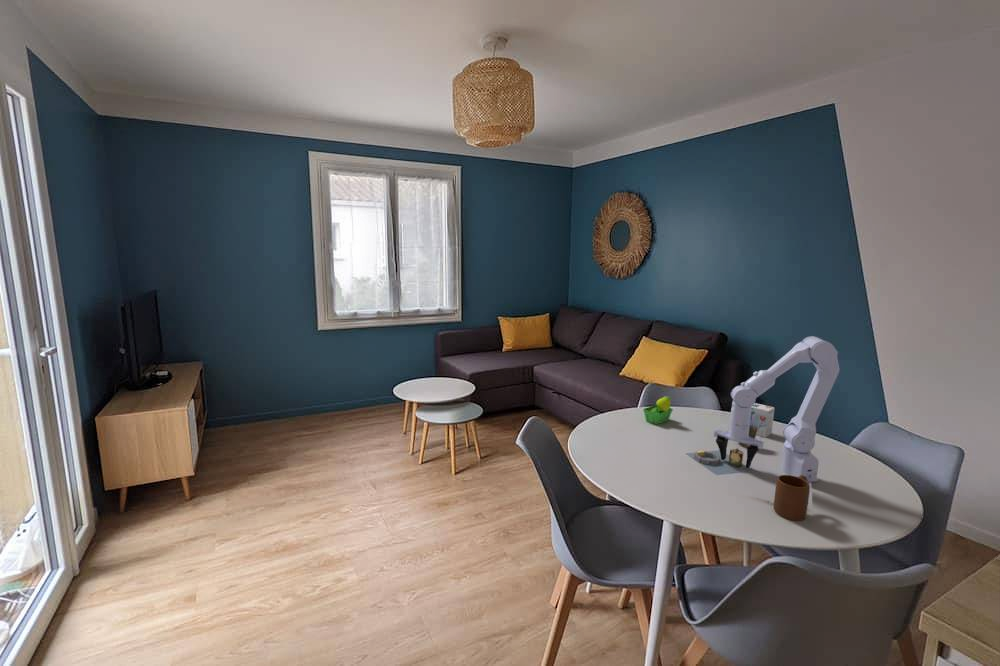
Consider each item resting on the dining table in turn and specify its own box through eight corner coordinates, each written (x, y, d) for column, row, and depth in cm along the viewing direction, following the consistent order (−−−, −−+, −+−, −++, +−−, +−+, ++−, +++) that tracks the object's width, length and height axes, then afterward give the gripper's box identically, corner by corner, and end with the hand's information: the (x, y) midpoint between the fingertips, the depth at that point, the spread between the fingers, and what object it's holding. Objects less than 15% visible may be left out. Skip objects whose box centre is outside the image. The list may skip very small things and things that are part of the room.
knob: (741, 468, 152) (743, 454, 151) (727, 465, 154) (729, 451, 153) (742, 463, 155) (744, 449, 154) (729, 460, 157) (730, 447, 156)
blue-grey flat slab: (754, 473, 150) (755, 466, 150) (715, 477, 147) (716, 470, 147) (720, 452, 166) (721, 446, 165) (684, 456, 162) (685, 449, 162)
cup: (750, 443, 174) (752, 422, 173) (758, 451, 167) (761, 430, 166) (729, 442, 175) (731, 421, 174) (736, 450, 168) (739, 429, 167)
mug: (786, 498, 135) (790, 467, 134) (816, 509, 130) (821, 477, 128) (768, 511, 128) (772, 479, 126) (799, 524, 122) (803, 491, 121)
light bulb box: (736, 430, 188) (739, 403, 186) (743, 426, 192) (746, 400, 190) (765, 438, 180) (769, 410, 178) (772, 433, 184) (775, 407, 183)
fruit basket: (656, 415, 203) (658, 389, 201) (675, 421, 197) (677, 394, 195) (641, 420, 196) (643, 394, 194) (660, 427, 189) (662, 400, 188)
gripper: (768, 426, 150) (763, 466, 152) (721, 414, 160) (717, 452, 162) (761, 431, 145) (756, 473, 147) (713, 419, 155) (709, 458, 157)
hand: (735, 462), depth 154 cm, fingers open, 7 cm apart
